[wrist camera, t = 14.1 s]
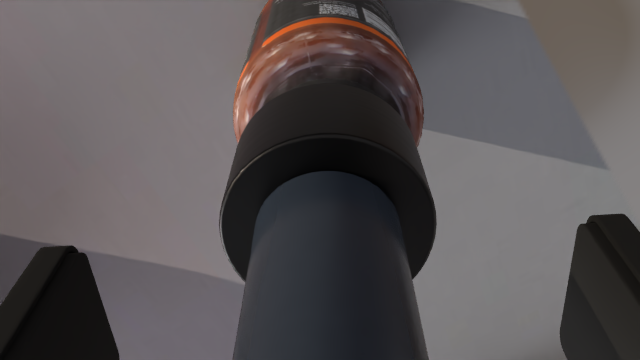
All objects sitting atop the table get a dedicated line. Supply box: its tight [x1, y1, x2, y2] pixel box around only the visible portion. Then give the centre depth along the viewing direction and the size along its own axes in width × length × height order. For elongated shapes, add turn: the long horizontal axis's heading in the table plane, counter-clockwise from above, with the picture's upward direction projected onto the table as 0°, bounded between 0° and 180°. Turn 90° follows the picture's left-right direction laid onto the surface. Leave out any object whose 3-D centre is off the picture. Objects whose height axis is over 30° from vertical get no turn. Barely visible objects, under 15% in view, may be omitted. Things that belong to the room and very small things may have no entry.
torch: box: [219, 83, 437, 360], centre depth 12 cm, size 5×5×9 cm
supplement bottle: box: [233, 0, 424, 147], centre depth 21 cm, size 6×6×11 cm
